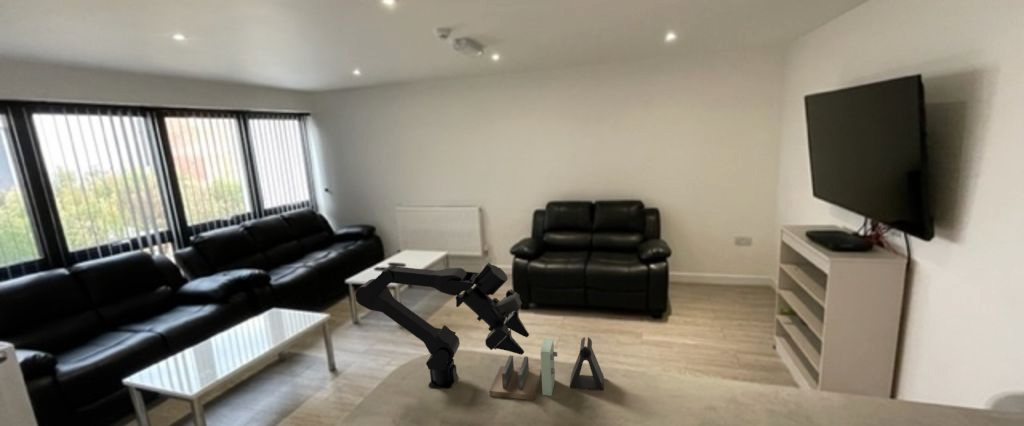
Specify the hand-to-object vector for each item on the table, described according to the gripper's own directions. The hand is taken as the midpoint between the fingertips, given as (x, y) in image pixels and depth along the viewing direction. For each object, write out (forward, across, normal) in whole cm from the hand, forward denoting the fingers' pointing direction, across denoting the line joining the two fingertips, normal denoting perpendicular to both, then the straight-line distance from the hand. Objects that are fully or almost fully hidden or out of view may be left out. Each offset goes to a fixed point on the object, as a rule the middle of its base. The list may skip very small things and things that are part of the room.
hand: (525, 344), depth 114 cm
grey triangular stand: (+20, +3, -2) cm, 20 cm away
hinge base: (+6, 0, +11) cm, 13 cm away
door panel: (+13, 0, +5) cm, 14 cm away
